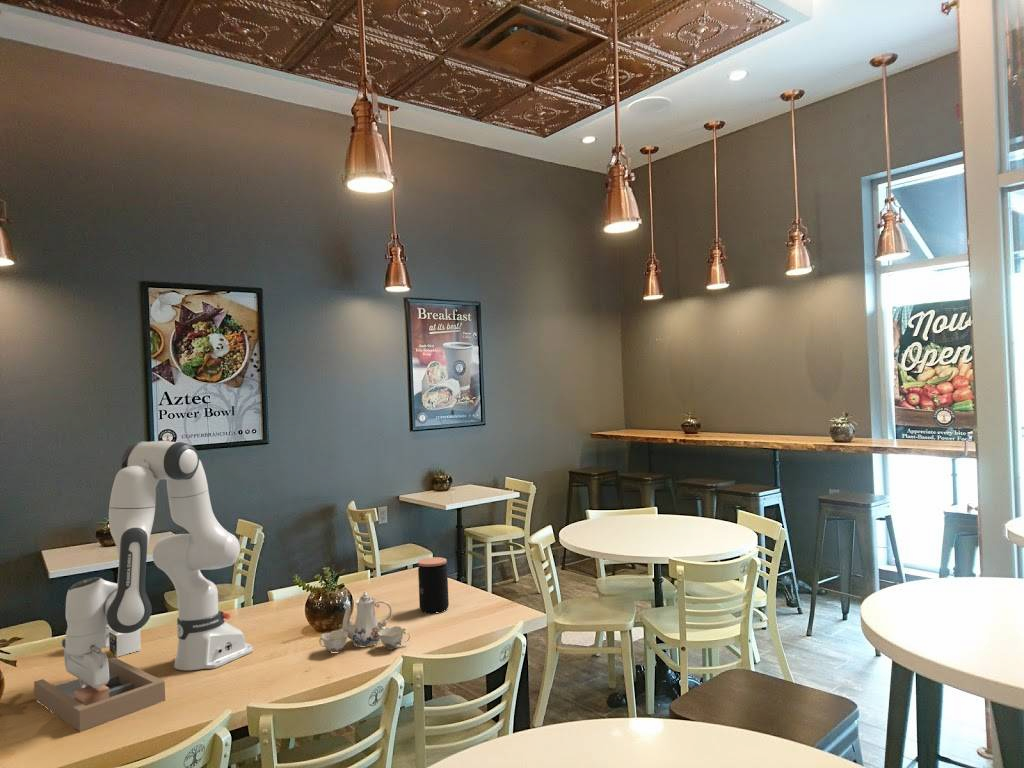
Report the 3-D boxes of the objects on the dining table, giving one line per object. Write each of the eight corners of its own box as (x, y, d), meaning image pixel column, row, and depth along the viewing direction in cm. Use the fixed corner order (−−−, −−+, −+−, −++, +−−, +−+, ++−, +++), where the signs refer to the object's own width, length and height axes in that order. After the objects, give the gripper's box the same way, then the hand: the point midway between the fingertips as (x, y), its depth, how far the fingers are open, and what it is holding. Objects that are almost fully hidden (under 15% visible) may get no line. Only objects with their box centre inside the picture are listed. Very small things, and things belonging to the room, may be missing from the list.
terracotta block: (100, 699, 173) (100, 682, 173) (109, 705, 169) (109, 687, 169) (74, 708, 168) (73, 690, 168) (83, 714, 164) (82, 696, 165)
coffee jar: (424, 605, 250) (422, 557, 251) (451, 605, 248) (449, 557, 249) (416, 614, 239) (414, 564, 240) (445, 614, 238) (442, 563, 238)
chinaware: (316, 665, 200) (314, 611, 199) (322, 640, 216) (320, 591, 215) (410, 655, 205) (408, 603, 203) (409, 631, 221) (407, 583, 220)
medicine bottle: (109, 652, 214) (108, 615, 214) (133, 646, 219) (132, 609, 219) (116, 657, 209) (115, 619, 209) (141, 650, 214) (140, 613, 215)
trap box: (114, 674, 195) (114, 657, 195) (165, 700, 176) (164, 681, 176) (34, 700, 179) (34, 681, 180) (80, 732, 160) (79, 711, 160)
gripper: (115, 646, 169) (116, 701, 169) (85, 631, 182) (86, 682, 181) (88, 654, 164) (89, 710, 164) (58, 638, 177) (59, 691, 176)
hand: (87, 695), depth 173 cm, fingers closed
